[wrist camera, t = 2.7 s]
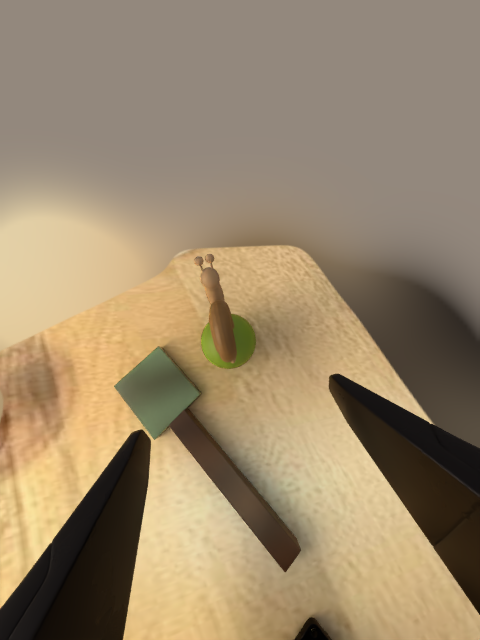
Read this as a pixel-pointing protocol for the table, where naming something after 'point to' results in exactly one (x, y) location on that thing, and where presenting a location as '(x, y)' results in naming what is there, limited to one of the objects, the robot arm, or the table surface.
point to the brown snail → (223, 325)
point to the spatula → (201, 446)
